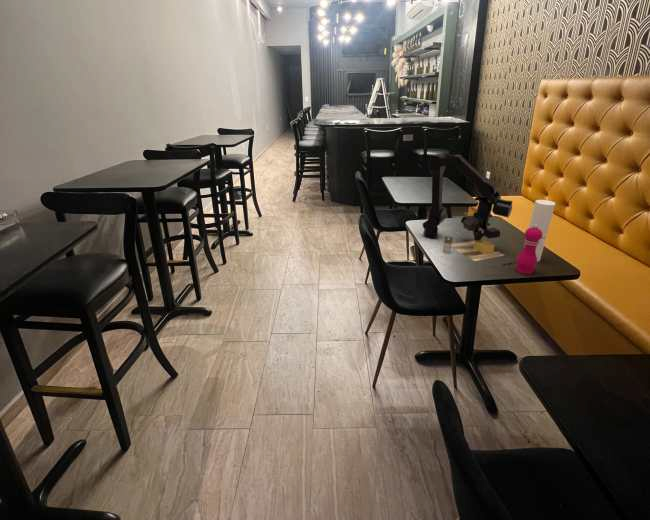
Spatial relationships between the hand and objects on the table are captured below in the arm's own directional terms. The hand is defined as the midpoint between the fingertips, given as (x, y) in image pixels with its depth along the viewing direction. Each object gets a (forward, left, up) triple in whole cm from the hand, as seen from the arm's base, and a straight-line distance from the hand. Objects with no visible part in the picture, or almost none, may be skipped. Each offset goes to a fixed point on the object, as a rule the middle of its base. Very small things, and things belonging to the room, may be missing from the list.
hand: (476, 243), depth 174 cm
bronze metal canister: (0, -16, -3) cm, 16 cm away
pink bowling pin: (+24, +4, -3) cm, 25 cm away
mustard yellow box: (+5, 0, -1) cm, 5 cm away
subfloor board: (+3, -3, -3) cm, 5 cm away
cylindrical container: (+16, +16, -3) cm, 23 cm away
